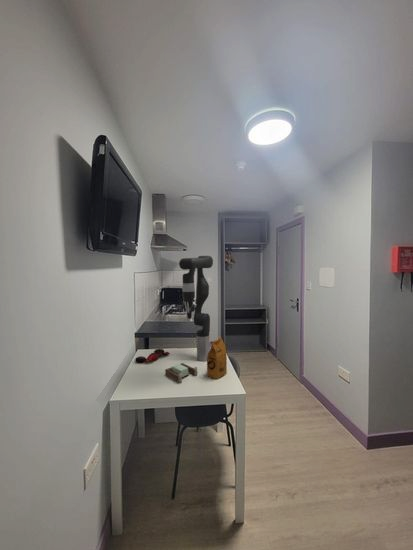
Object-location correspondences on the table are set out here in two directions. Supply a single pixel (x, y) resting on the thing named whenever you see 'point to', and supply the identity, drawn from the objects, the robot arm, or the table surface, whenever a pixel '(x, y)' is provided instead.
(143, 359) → the toy motorcycle
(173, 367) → the cart
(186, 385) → the table surface
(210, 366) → the coffee package
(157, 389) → the table surface
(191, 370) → the bay
